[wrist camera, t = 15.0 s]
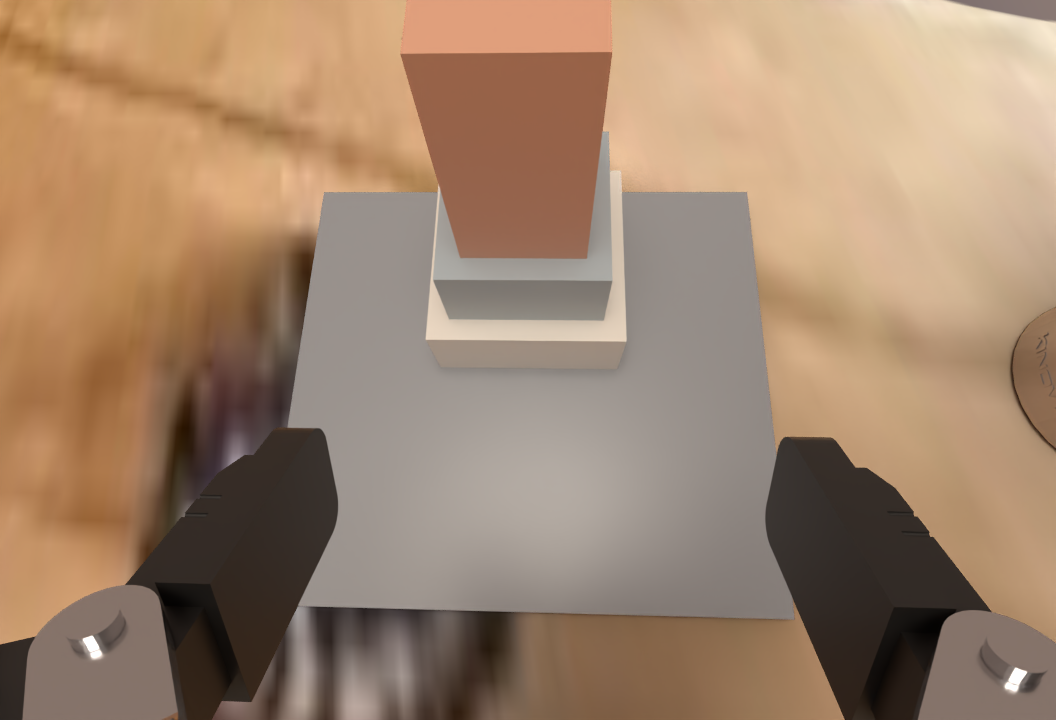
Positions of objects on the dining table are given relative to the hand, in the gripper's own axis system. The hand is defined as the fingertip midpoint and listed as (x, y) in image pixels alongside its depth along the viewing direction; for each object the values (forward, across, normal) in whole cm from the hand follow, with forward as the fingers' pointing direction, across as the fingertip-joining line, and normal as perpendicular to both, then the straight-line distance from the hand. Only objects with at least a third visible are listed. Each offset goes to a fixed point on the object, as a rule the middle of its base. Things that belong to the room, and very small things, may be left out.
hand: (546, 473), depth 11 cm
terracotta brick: (+16, +1, -1) cm, 16 cm away
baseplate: (+19, +1, +8) cm, 20 cm away
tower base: (+22, +1, +4) cm, 22 cm away
